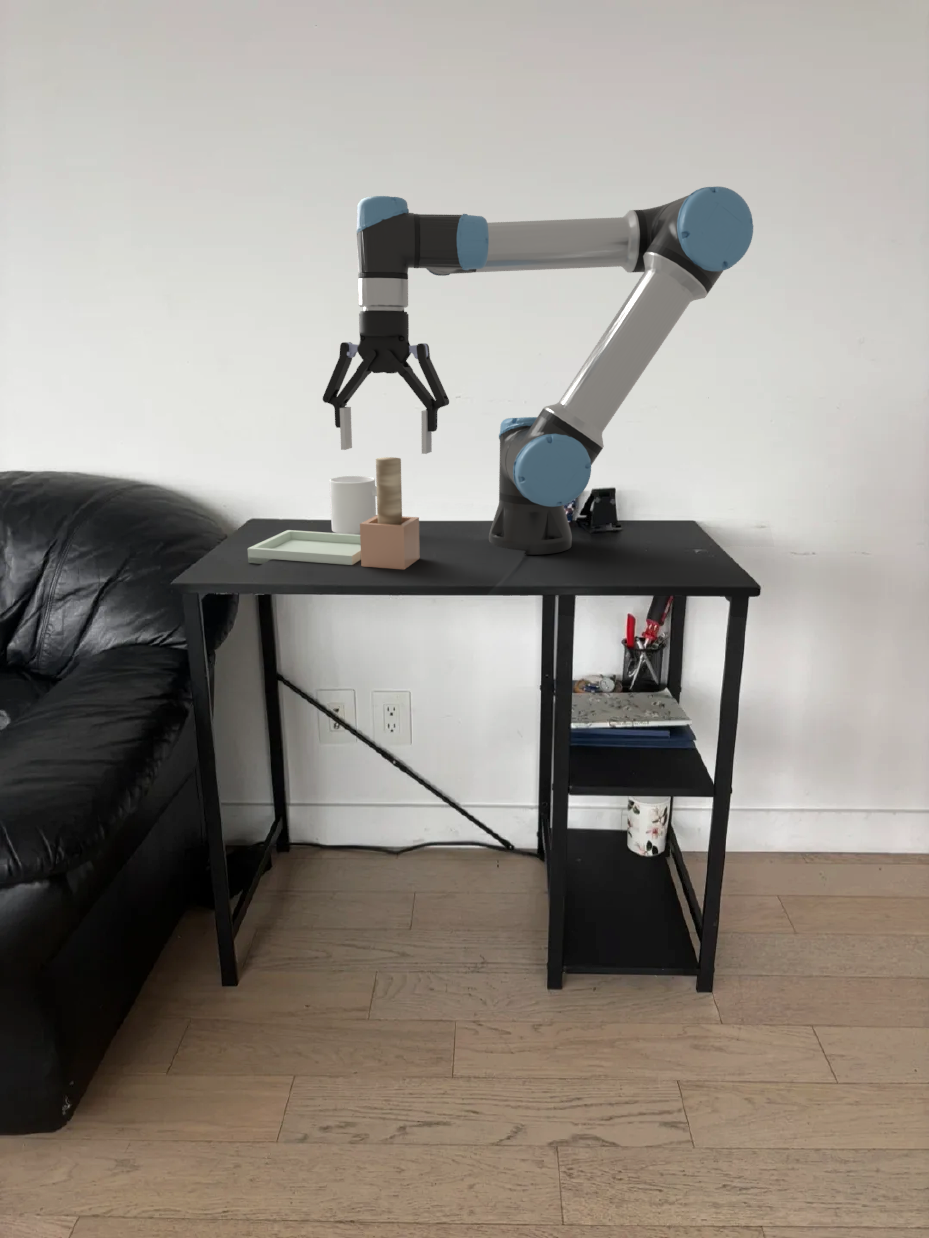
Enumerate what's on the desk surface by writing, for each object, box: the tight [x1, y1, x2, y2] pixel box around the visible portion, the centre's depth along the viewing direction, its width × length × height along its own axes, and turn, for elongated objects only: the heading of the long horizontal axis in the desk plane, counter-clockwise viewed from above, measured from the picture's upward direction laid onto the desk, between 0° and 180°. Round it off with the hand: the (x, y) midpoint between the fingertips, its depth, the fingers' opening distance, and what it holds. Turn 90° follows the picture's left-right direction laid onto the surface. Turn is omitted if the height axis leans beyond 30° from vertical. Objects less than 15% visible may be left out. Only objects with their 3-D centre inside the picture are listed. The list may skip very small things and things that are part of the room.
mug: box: [329, 475, 377, 535], centre depth 168 cm, size 9×12×11 cm
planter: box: [359, 514, 421, 570], centre depth 145 cm, size 8×8×8 cm
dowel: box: [375, 456, 403, 525], centre depth 143 cm, size 4×4×17 cm
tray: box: [246, 529, 361, 566], centre depth 153 cm, size 19×15×2 cm
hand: (386, 451), depth 140 cm, fingers open, 13 cm apart
